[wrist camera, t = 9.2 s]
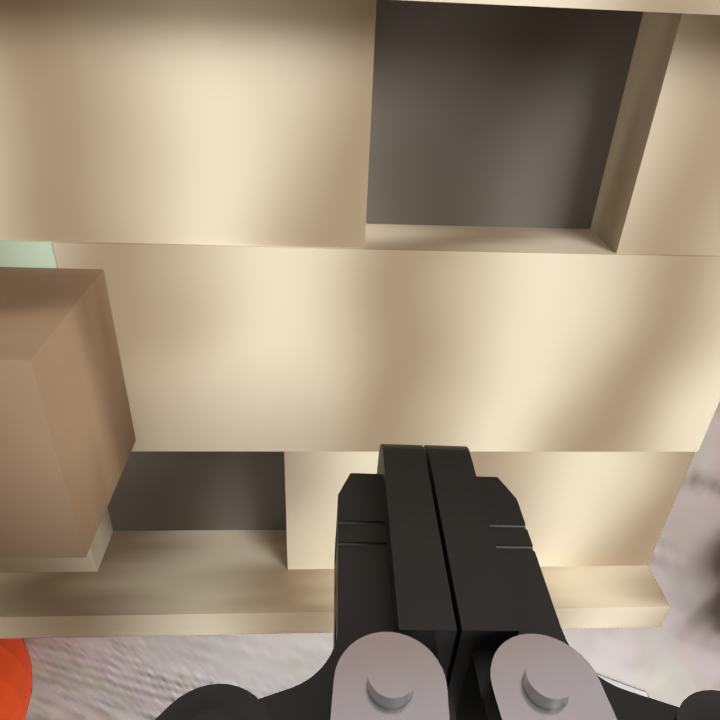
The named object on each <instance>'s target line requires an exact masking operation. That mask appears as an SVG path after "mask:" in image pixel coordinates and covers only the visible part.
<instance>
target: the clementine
mask: <svg viewBox="0 0 720 720" xmlns="http://www.w3.org/2000/svg"><path fill="white" fill-rule="evenodd" d="M31 693H32V665H31V661H30V657H29V652H28V650H27V648H26V645H25V643H24V641H23V638H0V720H25V716H26V713H27V709H28V705H29V701H30V697H31Z"/></svg>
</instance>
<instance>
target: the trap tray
mask: <svg viewBox="0 0 720 720" xmlns="http://www.w3.org/2000/svg"><path fill="white" fill-rule="evenodd" d="M0 267H24V268H69V269H103V270H104V275H105V280H106V285H107V291H108V296H109V301H110V306H111V312H112V317H113V322H114V328H115V333H116V338H117V343H118V349H119V354H120V359H121V364H122V370H123V375H124V380H125V385H126V391H127V396H128V401H129V406H130V412H131V417H132V422H133V428H134V433H135V438H136V441H135V444H134V446H133V448H132V451H131V453H130V455H129V458H128V460H127V462H126V465H125V467H124V469H123V472H122V474H121V476H120V479H119V481H118V483H117V486H116V488H115V490H114V493H113V495H112V497H111V500H110V502H109V504H108V507H107V509H106V511H105V514H104V516H103V518H102V521H101V523H100V525H99V528H98V530H97V532H96V535H95V537H94V539H93V542H92V544H91V546H90V549H89V551H88V553H87V556H86V558H0V638H54V637H110V636H166V635H222V634H278V633H334V555H335V538H336V521H337V504H338V494H339V492H340V490H341V489H342V487H343V485H344V483H345V482H346V480H347V478H348V476H349V475H350V473H365V474H377V466H378V456H379V448H380V444H404V445H422V446H423V447H424V445H443V446H466V447H468V449H469V451H470V455H471V458H472V462H473V465H474V469H475V473H476V476H481V477H498V478H499V479H500V480H501V482H502V483H503V484H504V485H505V486H506V487H507V488H508V490H509V491H510V492H511V493H512V494H513V495H514V496H515V497H516V499H517V501H518V504H519V507H520V510H521V512H522V515H523V518H524V521H525V524H526V525H525V528H526V529H527V530H528V533H529V536H530V539H531V542H532V544H533V551H535V553H536V556H537V559H538V562H539V565H540V568H541V571H542V574H543V577H544V579H545V582H546V585H547V588H548V591H549V594H550V597H551V600H552V603H553V606H554V609H555V611H556V614H557V617H558V620H559V623H560V626H561V628H614V627H661V626H662V623H663V621H664V619H665V617H666V615H667V613H668V611H669V609H670V605H669V603H668V601H667V600H666V598H665V596H664V594H663V592H662V590H661V589H660V587H659V585H658V583H657V581H656V580H655V578H654V576H653V574H652V572H651V571H650V569H649V567H648V563H649V561H650V558H651V556H652V554H653V551H654V549H655V547H656V544H657V542H658V539H659V537H660V535H661V532H662V530H663V527H664V525H665V523H666V520H667V518H668V516H669V513H670V511H671V508H672V506H673V504H674V501H675V499H676V497H677V494H678V492H679V489H680V487H681V485H682V482H683V480H684V477H685V475H686V473H687V470H688V468H689V466H690V463H691V461H692V458H693V456H694V454H695V452H698V451H699V448H700V446H701V443H702V441H703V439H704V436H705V434H706V432H707V429H708V427H709V425H710V422H711V420H712V417H713V415H714V413H715V410H716V408H717V406H718V403H719V401H720V0H0Z"/></svg>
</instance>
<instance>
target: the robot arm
mask: <svg viewBox="0 0 720 720" xmlns="http://www.w3.org/2000/svg"><path fill="white" fill-rule="evenodd" d="M525 525H526V524H525V521H524V518H523V515H522V512H521V510H520V507H519V504H518V501H517V499H516V497H515V496H514V495H513V494H512V493H511V492H510V491H509V490H508V488H507V487H506V486H505V485H504V484H503V483H502V482H501V480H500V479H499V478H498V477H481V476H476V473H475V469H474V465H473V462H472V458H471V455H470V451H469V449H468V447H466V446H443V445H424V447H423V446H422V445H404V444H380V448H379V456H378V466H377V474H365V473H350V475H349V476H348V478H347V480H346V482H345V483H344V485H343V487H342V489H341V490H340V492H339V494H338V504H337V521H336V538H335V555H334V649H333V651H332V653H331V656H330V657H329V659H328V660H327V662H326V663H325V665H324V666H323V667H322V668H321V669H320V670H319V671H318V672H317V673H316V674H315V675H314V676H312V677H311V678H310V679H308V680H307V681H305V682H303V683H302V684H300V685H297V686H295V687H293V688H290V689H287V690H284V691H281V692H278V693H275V694H272V695H269V696H267V697H264V698H261V699H258V698H257V697H256V696H254V695H253V694H251V693H250V692H249V691H247V690H245V689H242V688H240V687H238V686H233V685H229V684H213V685H206V686H203V687H199V688H196V689H194V690H192V691H190V692H188V693H186V694H184V695H183V696H181V697H180V698H178V699H177V700H176V701H174V702H173V703H172V704H171V705H170V706H169V707H168V708H167V709H166V710H165V711H164V712H162V713H161V714H160V715H159V716H158V717H157V718H156V719H155V720H720V691H715V690H705V691H700V692H696V693H694V694H692V695H690V696H688V697H687V698H686V699H685V700H684V701H683V702H682V704H681V706H680V707H676V706H673V705H670V704H667V703H664V702H661V701H657V700H654V699H651V698H648V697H645V696H642V695H639V694H636V693H633V692H630V691H627V690H624V689H622V688H619V687H617V686H615V685H613V684H611V683H609V682H607V681H605V680H604V679H602V678H601V677H599V676H598V675H596V673H595V671H594V670H593V668H592V667H591V665H590V664H589V663H588V662H587V661H586V660H585V659H584V657H583V656H582V655H581V654H579V653H578V652H577V651H576V650H575V649H573V648H572V647H570V646H569V644H568V643H567V641H566V639H565V636H564V634H563V632H562V629H561V626H560V623H559V620H558V617H557V614H556V611H555V609H554V606H553V603H552V600H551V597H550V594H549V591H548V588H547V585H546V582H545V579H544V577H543V574H542V571H541V568H540V565H539V562H538V559H537V556H536V553H535V551H533V544H532V542H531V539H530V536H529V533H528V530H527V529H526V528H525Z"/></svg>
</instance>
